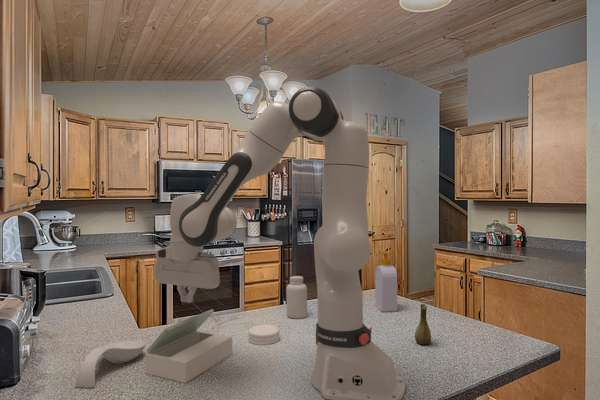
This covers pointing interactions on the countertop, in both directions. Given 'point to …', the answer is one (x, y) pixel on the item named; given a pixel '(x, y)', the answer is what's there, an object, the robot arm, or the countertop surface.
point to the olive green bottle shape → (423, 328)
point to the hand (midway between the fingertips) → (186, 301)
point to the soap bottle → (386, 286)
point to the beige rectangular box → (188, 356)
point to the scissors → (219, 322)
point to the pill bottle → (296, 298)
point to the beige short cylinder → (263, 334)
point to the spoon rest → (112, 353)
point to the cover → (179, 330)
